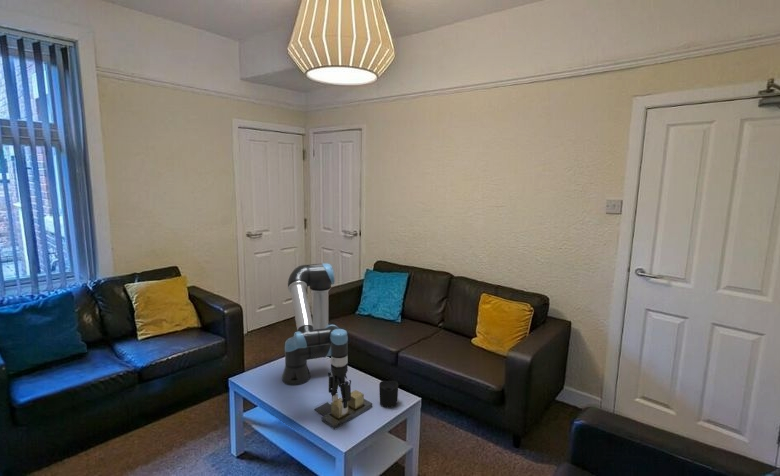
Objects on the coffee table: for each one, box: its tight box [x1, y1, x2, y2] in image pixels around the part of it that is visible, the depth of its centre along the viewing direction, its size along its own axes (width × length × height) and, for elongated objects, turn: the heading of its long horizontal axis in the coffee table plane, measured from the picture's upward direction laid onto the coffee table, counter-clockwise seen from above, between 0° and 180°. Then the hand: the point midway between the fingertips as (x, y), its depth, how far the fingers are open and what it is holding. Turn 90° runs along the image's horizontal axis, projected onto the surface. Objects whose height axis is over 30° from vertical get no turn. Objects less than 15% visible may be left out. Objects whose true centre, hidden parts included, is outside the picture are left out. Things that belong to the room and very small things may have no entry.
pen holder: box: [378, 380, 399, 409], centre depth 195 cm, size 9×9×10 cm
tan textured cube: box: [330, 397, 348, 421], centre depth 182 cm, size 6×6×8 cm
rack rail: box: [321, 398, 373, 430], centre depth 186 cm, size 9×24×2 cm, turn 138°
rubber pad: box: [313, 402, 331, 417], centre depth 189 cm, size 8×8×1 cm
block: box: [348, 389, 365, 411], centre depth 190 cm, size 6×6×8 cm
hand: (339, 410), depth 182 cm, fingers closed on tan textured cube, 6 cm apart
